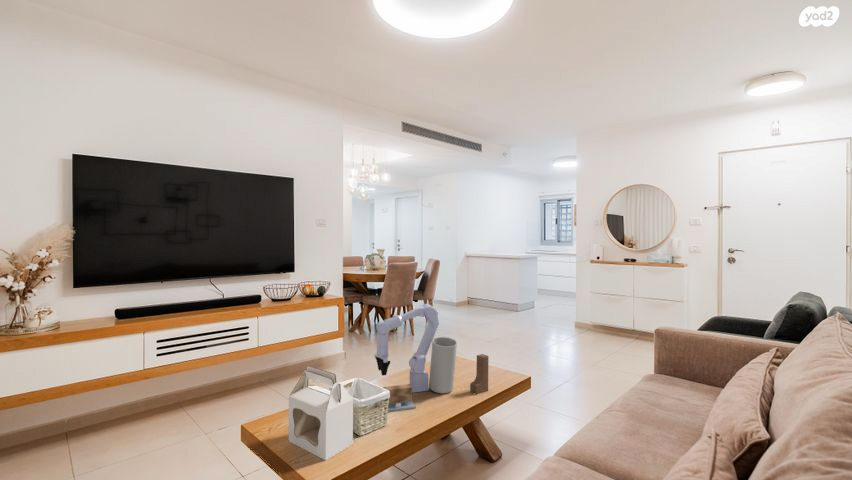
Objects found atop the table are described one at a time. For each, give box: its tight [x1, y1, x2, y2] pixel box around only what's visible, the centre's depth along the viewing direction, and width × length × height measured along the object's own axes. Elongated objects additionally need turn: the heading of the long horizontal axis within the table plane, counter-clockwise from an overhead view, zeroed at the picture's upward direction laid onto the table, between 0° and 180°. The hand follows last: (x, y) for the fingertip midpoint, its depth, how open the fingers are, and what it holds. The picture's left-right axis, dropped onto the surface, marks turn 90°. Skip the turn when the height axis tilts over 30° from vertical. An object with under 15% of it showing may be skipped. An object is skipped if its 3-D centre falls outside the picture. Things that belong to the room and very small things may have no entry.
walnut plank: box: [381, 383, 413, 403], centre depth 180 cm, size 14×4×6 cm, turn 108°
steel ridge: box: [393, 402, 401, 408], centre depth 180 cm, size 2×7×2 cm, turn 19°
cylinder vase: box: [428, 336, 458, 394], centre depth 200 cm, size 12×12×25 cm
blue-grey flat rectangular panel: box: [388, 399, 417, 413], centre depth 180 cm, size 16×9×1 cm, turn 109°
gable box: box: [288, 365, 354, 461], centre depth 148 cm, size 22×13×28 cm, turn 54°
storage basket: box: [328, 377, 390, 436], centre depth 165 cm, size 24×16×15 cm
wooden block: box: [469, 353, 489, 395], centre depth 199 cm, size 9×4×18 cm, turn 128°
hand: (382, 372), depth 197 cm, fingers open, 7 cm apart
